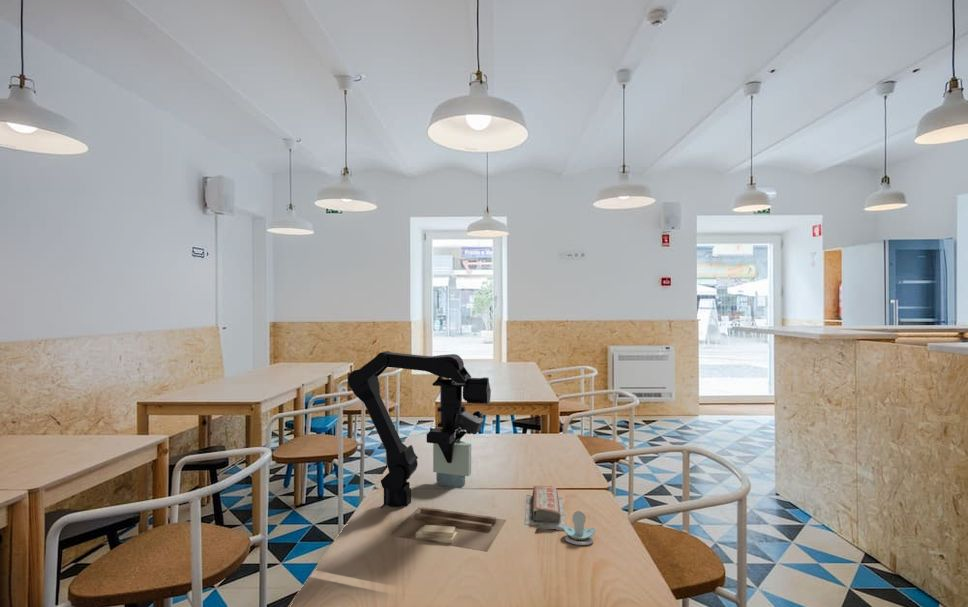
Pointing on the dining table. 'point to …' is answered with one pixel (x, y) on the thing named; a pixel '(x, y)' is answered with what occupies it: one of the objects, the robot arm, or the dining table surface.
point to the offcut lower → (436, 537)
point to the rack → (470, 527)
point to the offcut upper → (438, 531)
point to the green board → (453, 460)
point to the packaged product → (545, 508)
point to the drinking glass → (450, 479)
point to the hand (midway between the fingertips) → (451, 461)
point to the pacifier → (579, 530)
